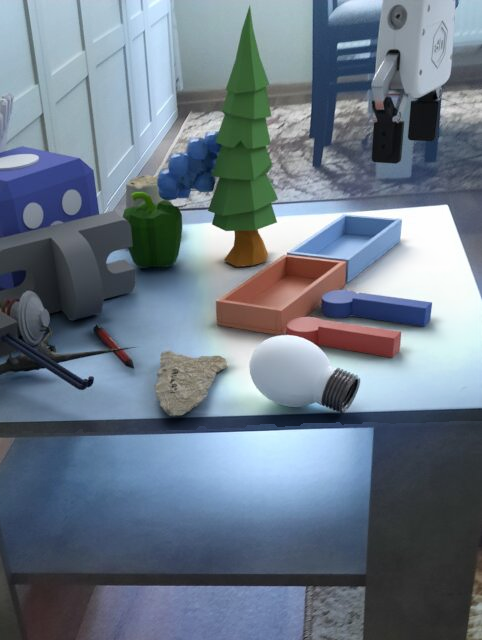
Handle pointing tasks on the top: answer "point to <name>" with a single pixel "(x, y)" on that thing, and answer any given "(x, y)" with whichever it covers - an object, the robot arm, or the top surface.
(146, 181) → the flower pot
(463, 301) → the top surface
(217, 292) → the top surface
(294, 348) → the light bulb
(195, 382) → the stone tool
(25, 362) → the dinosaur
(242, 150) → the decorative tree
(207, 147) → the grapes
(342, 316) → the blue spoon
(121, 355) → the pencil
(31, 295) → the shock absorber
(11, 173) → the toy
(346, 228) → the blue bin
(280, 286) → the red bin
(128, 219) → the bell pepper
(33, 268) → the bracket
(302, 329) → the red spoon
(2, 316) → the dark blue hooked rod
